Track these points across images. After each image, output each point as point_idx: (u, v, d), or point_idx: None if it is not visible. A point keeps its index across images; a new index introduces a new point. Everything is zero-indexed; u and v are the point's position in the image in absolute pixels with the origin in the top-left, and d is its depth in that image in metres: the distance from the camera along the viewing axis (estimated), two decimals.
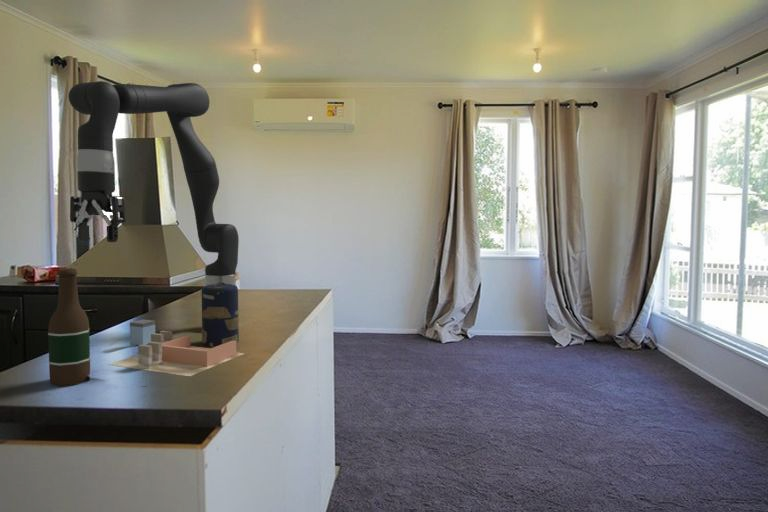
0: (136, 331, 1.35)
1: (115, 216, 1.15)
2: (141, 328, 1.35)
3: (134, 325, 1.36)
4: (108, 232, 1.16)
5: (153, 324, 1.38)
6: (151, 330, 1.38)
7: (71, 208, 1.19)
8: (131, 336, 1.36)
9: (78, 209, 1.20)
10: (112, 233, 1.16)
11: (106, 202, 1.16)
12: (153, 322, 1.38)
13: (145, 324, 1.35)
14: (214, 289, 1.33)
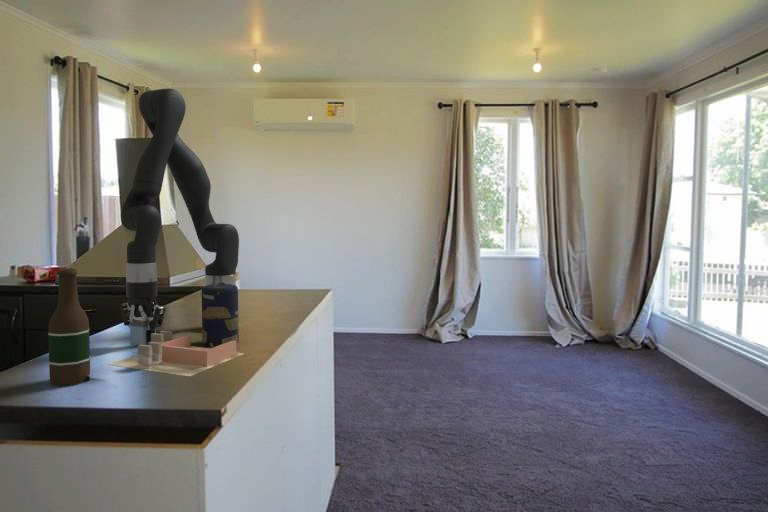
0: (136, 331, 1.35)
1: (154, 323, 1.34)
2: (141, 328, 1.35)
3: (134, 325, 1.36)
4: (147, 336, 1.36)
5: None
6: None
7: (122, 314, 1.38)
8: (131, 336, 1.36)
9: (128, 313, 1.39)
10: (150, 336, 1.36)
11: (150, 308, 1.35)
12: None
13: (145, 324, 1.35)
14: (214, 289, 1.33)
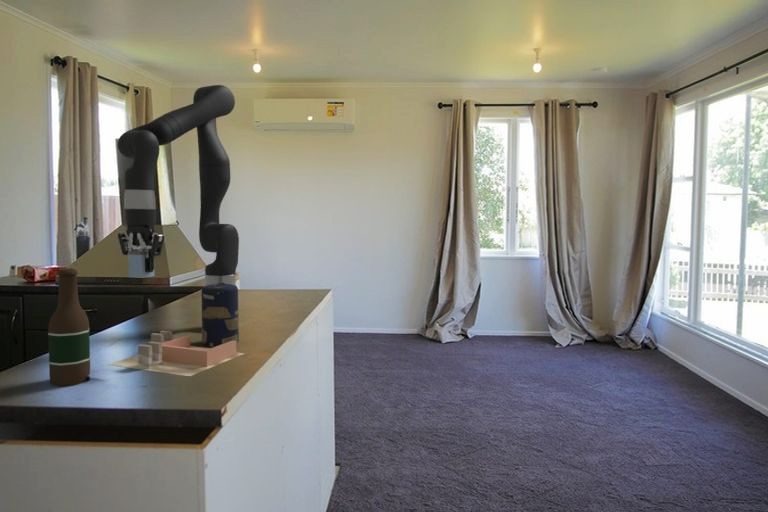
0: (134, 259, 1.34)
1: (153, 251, 1.33)
2: (140, 256, 1.33)
3: (132, 253, 1.34)
4: (146, 264, 1.34)
5: None
6: None
7: (121, 243, 1.37)
8: (130, 265, 1.35)
9: (126, 243, 1.37)
10: (149, 265, 1.35)
11: (148, 236, 1.34)
12: None
13: None
14: (214, 289, 1.33)
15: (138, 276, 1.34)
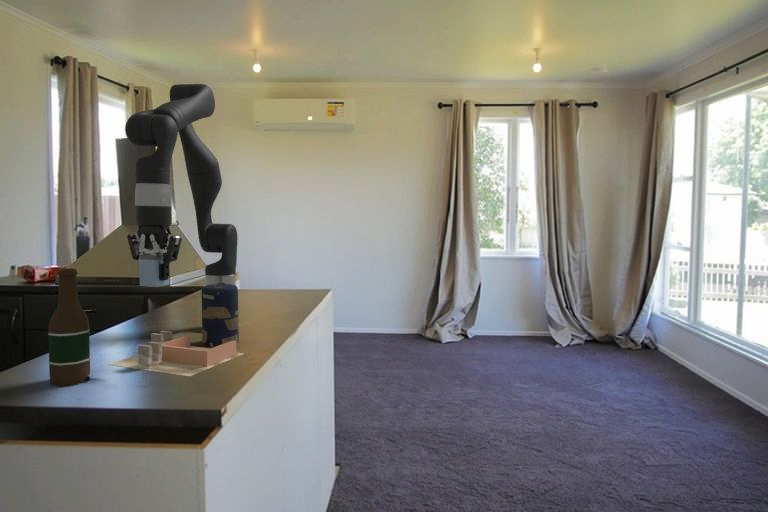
0: (146, 265, 1.14)
1: (168, 255, 1.13)
2: (153, 261, 1.13)
3: (144, 258, 1.14)
4: (160, 271, 1.15)
5: None
6: None
7: (131, 246, 1.17)
8: (141, 271, 1.15)
9: (137, 246, 1.18)
10: (164, 272, 1.15)
11: (163, 237, 1.14)
12: None
13: (157, 257, 1.14)
14: (214, 289, 1.33)
15: (151, 285, 1.14)
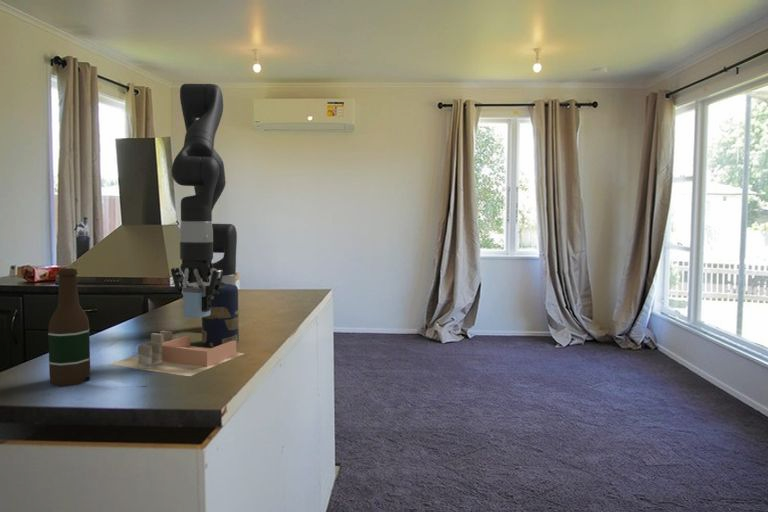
0: (190, 297, 1.21)
1: (211, 289, 1.20)
2: (196, 294, 1.21)
3: (188, 291, 1.21)
4: (203, 303, 1.22)
5: None
6: None
7: (174, 279, 1.24)
8: (184, 303, 1.22)
9: (180, 279, 1.25)
10: (206, 303, 1.22)
11: (206, 272, 1.21)
12: None
13: (200, 289, 1.21)
14: None
15: (194, 316, 1.21)
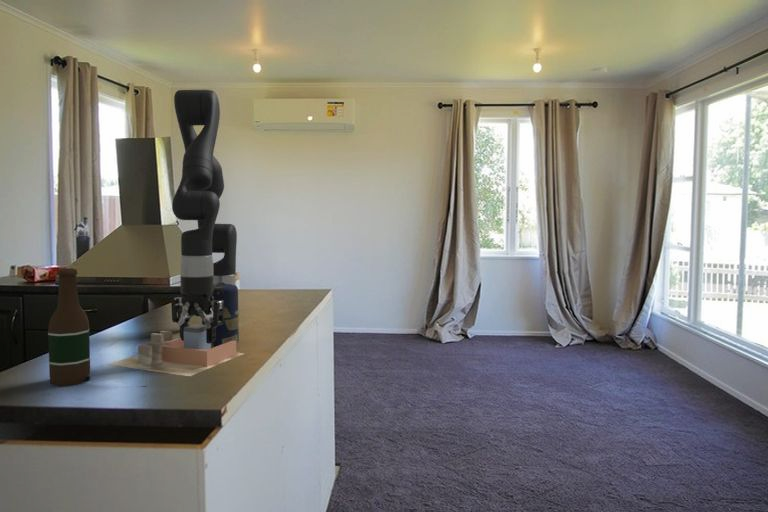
0: (191, 337, 1.22)
1: (216, 320, 1.21)
2: (197, 334, 1.21)
3: (189, 330, 1.22)
4: (208, 334, 1.22)
5: None
6: None
7: (172, 309, 1.25)
8: (185, 342, 1.23)
9: (179, 309, 1.25)
10: (211, 335, 1.22)
11: (207, 305, 1.21)
12: None
13: (201, 329, 1.22)
14: (214, 289, 1.33)
15: None
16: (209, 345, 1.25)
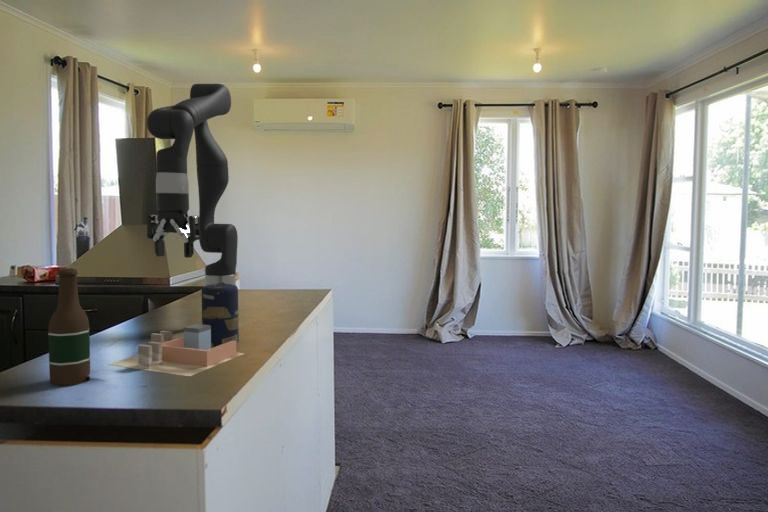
0: (191, 337, 1.22)
1: (192, 234, 1.24)
2: (197, 334, 1.21)
3: (189, 330, 1.22)
4: (185, 248, 1.26)
5: (209, 329, 1.25)
6: (207, 336, 1.24)
7: (148, 226, 1.28)
8: (185, 342, 1.23)
9: (154, 226, 1.29)
10: (189, 249, 1.26)
11: (183, 221, 1.25)
12: (209, 327, 1.25)
13: (201, 329, 1.22)
14: (214, 289, 1.33)
15: None
16: (209, 345, 1.25)
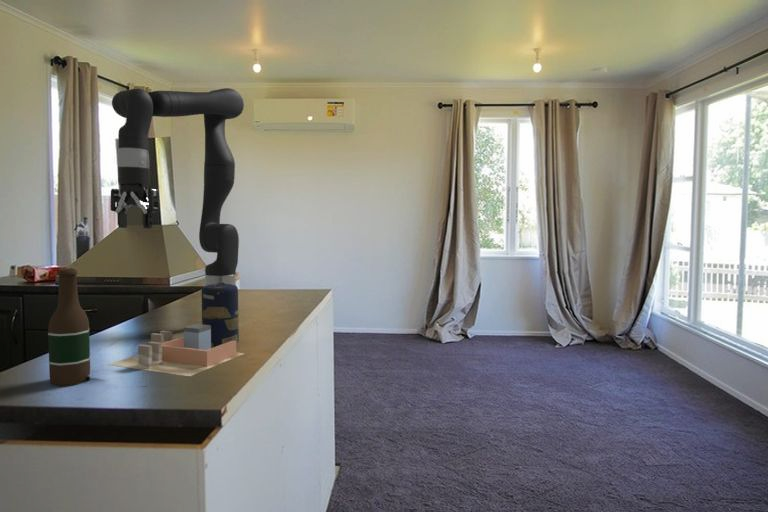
0: (191, 337, 1.22)
1: (151, 205, 1.32)
2: (197, 334, 1.21)
3: (189, 330, 1.22)
4: (144, 219, 1.34)
5: (209, 329, 1.25)
6: (207, 336, 1.24)
7: (111, 199, 1.37)
8: (185, 342, 1.23)
9: (117, 200, 1.38)
10: (148, 220, 1.34)
11: (143, 193, 1.33)
12: (209, 327, 1.25)
13: (201, 329, 1.22)
14: (214, 289, 1.33)
15: None
16: (209, 345, 1.25)
